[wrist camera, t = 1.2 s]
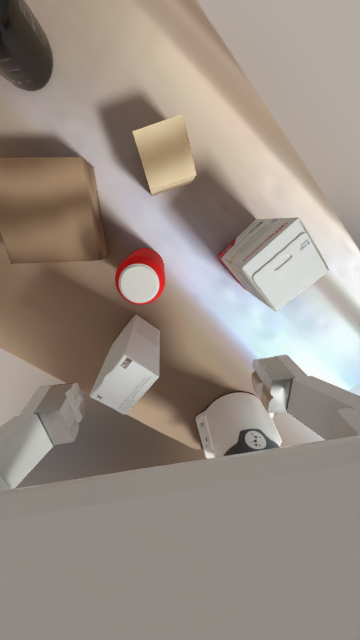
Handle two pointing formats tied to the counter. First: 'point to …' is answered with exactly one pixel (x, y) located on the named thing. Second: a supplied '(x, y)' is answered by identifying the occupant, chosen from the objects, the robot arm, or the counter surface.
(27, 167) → the walnut block
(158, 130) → the oak block
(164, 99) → the counter surface
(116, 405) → the skincare box
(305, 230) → the ink box
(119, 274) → the beverage can
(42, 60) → the supplement bottle
